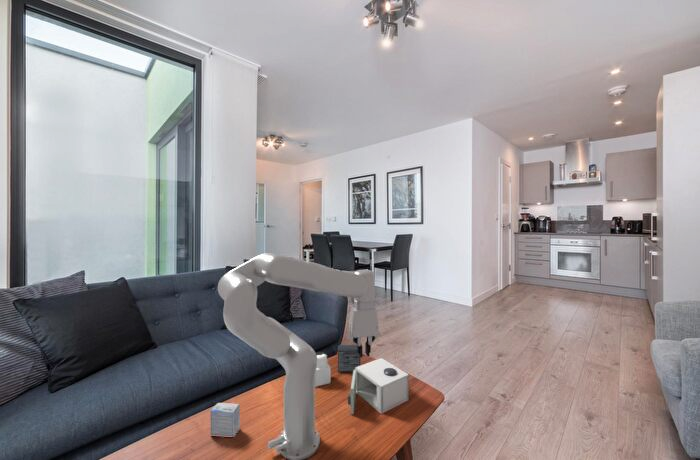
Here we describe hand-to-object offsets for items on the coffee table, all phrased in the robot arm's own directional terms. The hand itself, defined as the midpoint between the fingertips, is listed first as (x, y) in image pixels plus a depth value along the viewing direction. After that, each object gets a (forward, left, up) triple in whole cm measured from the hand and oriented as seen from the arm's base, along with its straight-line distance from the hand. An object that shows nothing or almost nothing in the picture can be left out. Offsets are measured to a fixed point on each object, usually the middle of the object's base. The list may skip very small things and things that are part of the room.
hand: (363, 354), depth 101 cm
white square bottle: (-3, +27, -21) cm, 34 cm away
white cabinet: (+12, +4, -21) cm, 24 cm away
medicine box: (-43, +18, -21) cm, 52 cm away
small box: (+13, +28, -21) cm, 37 cm away
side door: (-1, +6, -21) cm, 22 cm away
